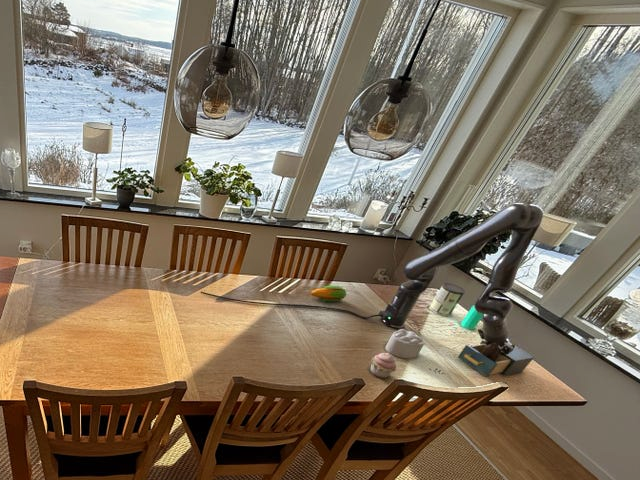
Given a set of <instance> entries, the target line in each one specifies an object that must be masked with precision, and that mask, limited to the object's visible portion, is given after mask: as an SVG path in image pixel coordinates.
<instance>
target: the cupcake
mask: <svg viewBox="0 0 640 480" xmlns="http://www.w3.org/2000/svg"><path fill="white" fill-rule="evenodd" d="M370 361H371V365H370V373H371V374H372V375H374V376H375V377H377V378H381V379H385V378H387V377H388V376H389V375H391V374H392V373H393V372H395V371H397V366H396V360H395V358H394V355H393V354H391V353H389V352H381V353H378V354H376V355H374V357H373V356H372V357H371V360H370Z"/></svg>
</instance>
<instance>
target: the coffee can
mask: <svg viewBox="0 0 640 480" xmlns="http://www.w3.org/2000/svg"><path fill="white" fill-rule="evenodd" d="M465 293H466V290H465V289H464V288H462V287H461V286H459V285H457V284H453V283H450V282H444V283H442V284H441V287H440V288H439V290H438V292H437V294H436V295H435V297H434V298H433V301H432V302H431V304H430V306H429V307H428V308H429V310H430V311H432V312H434V313H435V314H437V315H440V316H442V317H443V316H444V317H450V316H451V315H452V313H453V311H455V308H456V307H457V305H458V304H459V302H460V301H461V299H462V297H463V296H464V294H465Z"/></svg>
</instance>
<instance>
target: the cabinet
mask: <svg viewBox="0 0 640 480" xmlns="http://www.w3.org/2000/svg"><path fill="white" fill-rule="evenodd" d="M484 343H485V344H486V342H485V339H481V341H480V342H479V344H484ZM508 344H510V345H512V343H511V342H510V341H509V342H508ZM504 356H505V357H507V358H509V359H510V360H512V361H511V363H510V364H509V365H508V366H507V368H506V369H505V370H504V371H503V372H501V373H498V374H499V375H500V376H502V377H505V376H511V375H516V374H521V373H523V372H524V370H525V369H526V368H527V367H528V366H529V364H530V363H531V362H532V361H533V360H534V359H535V357H534V356H533V355H531V354H530V353H527V352H526V351H525V350H523V349H521V348H520V347H517V346H516V345H515V348H514V350H513V351H512V352H510V353H509V354H508V355H507V354H506V355H504Z"/></svg>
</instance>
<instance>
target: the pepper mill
mask: <svg viewBox="0 0 640 480" xmlns="http://www.w3.org/2000/svg"><path fill="white" fill-rule="evenodd" d="M506 340H507V341H508V342H509V343H510V339H509V338H507V339H506ZM482 354H483V355H484V356H486V357H487V358H489V359H490V360H492V361H493V362H495V361H496V359H497V358H498V357H499V355H500V349H498V348H497V347H496V345H495V344H494V343H493V342H490V344H489V345H488V346H487V348H486V349H485V350H484V352H483V353H482Z"/></svg>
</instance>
